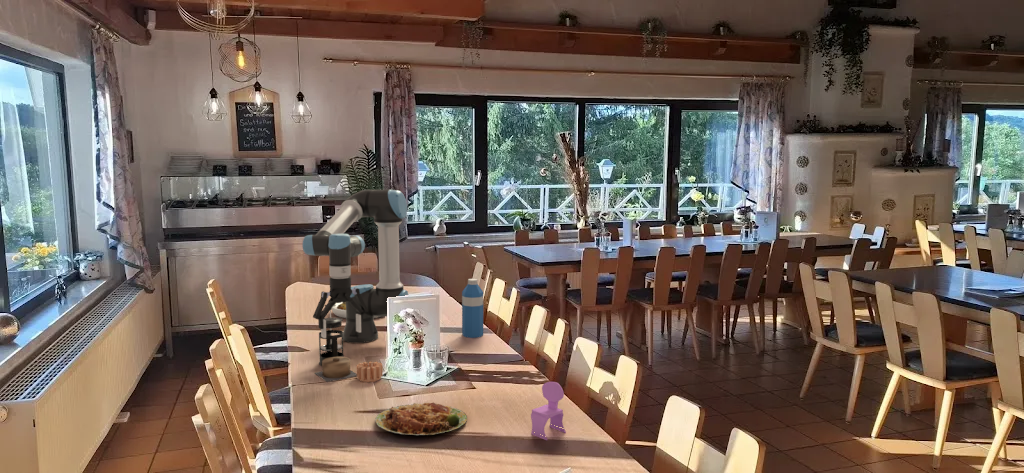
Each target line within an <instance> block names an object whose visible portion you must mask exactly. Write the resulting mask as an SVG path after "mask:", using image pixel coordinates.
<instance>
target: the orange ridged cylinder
mask: <svg viewBox="0 0 1024 473" xmlns="http://www.w3.org/2000/svg"><path fill="white" fill-rule="evenodd" d="M383 367H384V366H383V364H382V362H379V361H374V362H373V361H372V360H371V361H368V362H366V361H363V362H362V363H361V362H359V363H358V364H356V374H357V376H356V378H357V380H358V381H359V382H362V383H373V382H374V383H375V382H379V381H380V380H381V379H382V377H383V375H384V372H383Z"/></svg>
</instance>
